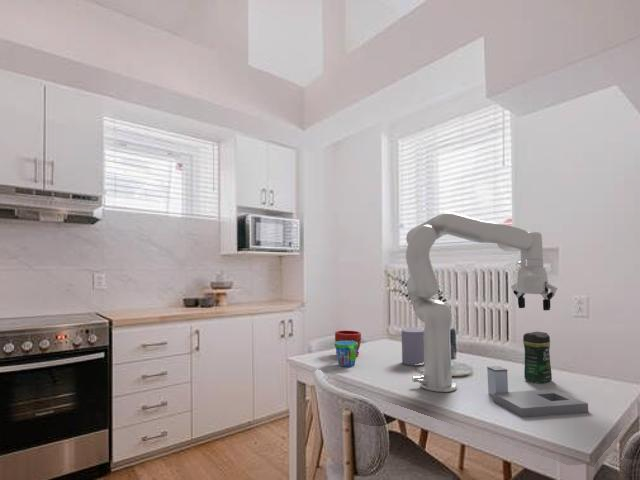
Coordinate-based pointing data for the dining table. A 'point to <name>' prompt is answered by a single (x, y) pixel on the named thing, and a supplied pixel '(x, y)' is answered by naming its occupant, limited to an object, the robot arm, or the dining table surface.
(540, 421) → the dining table surface
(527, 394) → the grey board with hole
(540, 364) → the coffee jar
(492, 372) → the block
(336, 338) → the plant pot
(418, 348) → the container
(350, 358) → the snack cup
